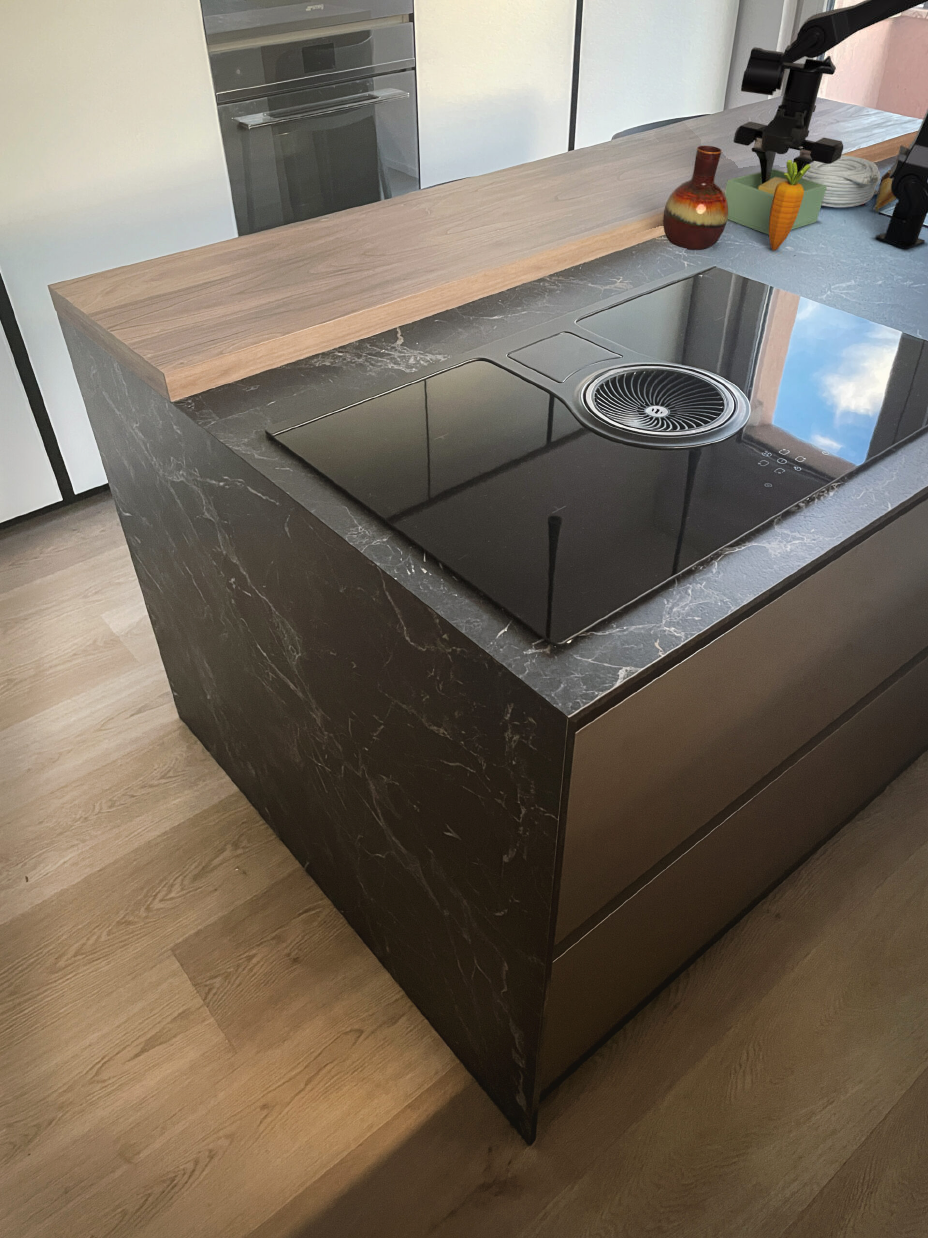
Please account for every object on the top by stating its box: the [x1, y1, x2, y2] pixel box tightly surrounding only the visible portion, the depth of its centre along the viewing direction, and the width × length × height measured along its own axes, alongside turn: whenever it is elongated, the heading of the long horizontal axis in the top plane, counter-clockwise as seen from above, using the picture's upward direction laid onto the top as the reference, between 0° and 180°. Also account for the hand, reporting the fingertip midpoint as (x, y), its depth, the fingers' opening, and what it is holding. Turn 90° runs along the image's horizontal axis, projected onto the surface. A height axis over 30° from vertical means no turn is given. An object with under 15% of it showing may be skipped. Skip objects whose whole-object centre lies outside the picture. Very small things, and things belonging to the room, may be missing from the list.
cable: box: [802, 154, 881, 208], centre depth 187 cm, size 18×18×6 cm
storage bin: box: [724, 168, 827, 236], centre depth 176 cm, size 14×12×7 cm
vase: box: [662, 145, 728, 251], centre depth 162 cm, size 11×11×15 cm
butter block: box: [758, 177, 787, 195], centre depth 175 cm, size 8×4×3 cm, turn 144°
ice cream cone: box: [872, 168, 897, 213], centre depth 188 cm, size 6×6×15 cm
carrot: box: [768, 159, 811, 252], centre depth 161 cm, size 5×5×15 cm
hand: (775, 191), depth 175 cm, fingers closed on butter block, 4 cm apart
